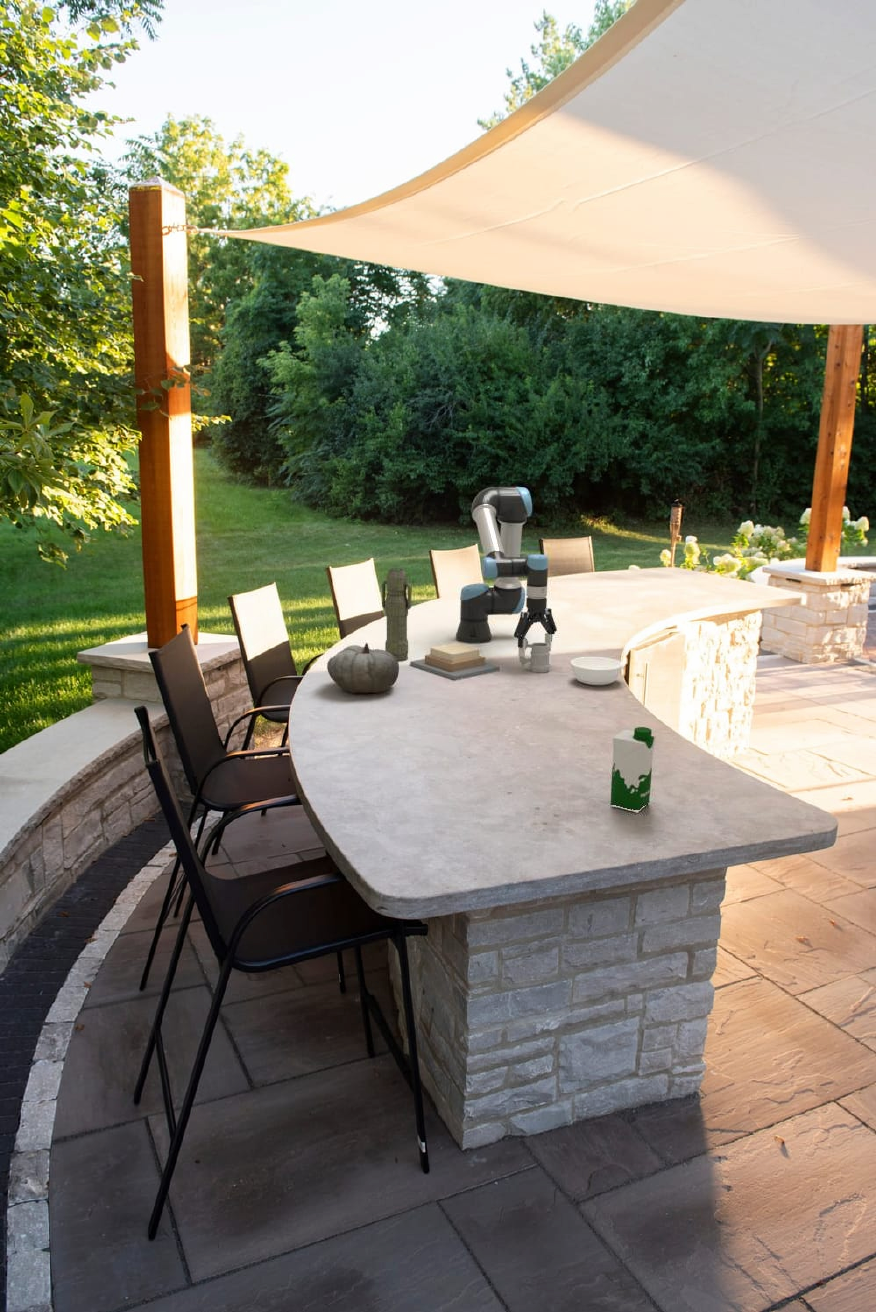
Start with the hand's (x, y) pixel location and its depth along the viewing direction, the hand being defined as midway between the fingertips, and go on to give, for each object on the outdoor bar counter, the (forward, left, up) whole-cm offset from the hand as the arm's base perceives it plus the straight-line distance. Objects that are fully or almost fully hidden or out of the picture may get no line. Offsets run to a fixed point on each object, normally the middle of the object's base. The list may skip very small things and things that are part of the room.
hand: (534, 653), depth 349 cm
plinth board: (-20, -22, -6) cm, 30 cm away
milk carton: (+104, -71, -7) cm, 126 cm away
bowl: (+25, +6, -7) cm, 27 cm away
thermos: (-44, -31, -7) cm, 54 cm away
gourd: (-18, -65, -7) cm, 68 cm away
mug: (0, 0, -7) cm, 7 cm away
